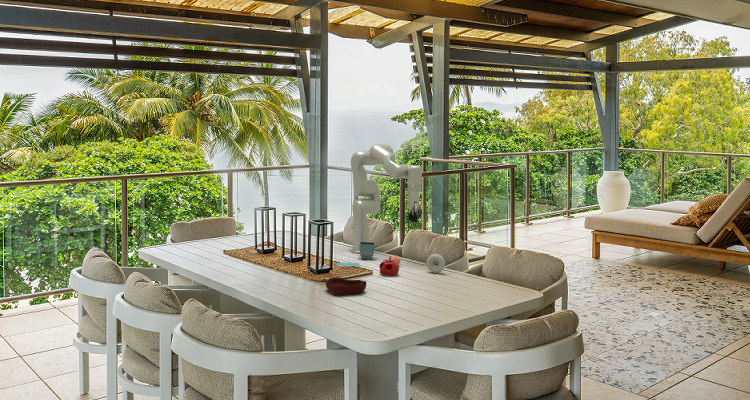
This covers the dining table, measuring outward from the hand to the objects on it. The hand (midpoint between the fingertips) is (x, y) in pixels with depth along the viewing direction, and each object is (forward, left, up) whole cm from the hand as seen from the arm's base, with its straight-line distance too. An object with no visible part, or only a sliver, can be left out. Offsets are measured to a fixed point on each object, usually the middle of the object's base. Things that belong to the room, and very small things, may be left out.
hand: (413, 221), depth 362 cm
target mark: (+6, -35, -24) cm, 43 cm away
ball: (+6, -10, -21) cm, 24 cm away
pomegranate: (+29, -17, -24) cm, 41 cm away
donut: (+24, +8, -24) cm, 35 cm away
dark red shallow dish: (+66, -43, -24) cm, 83 cm away
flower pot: (-13, -23, -24) cm, 36 cm away
